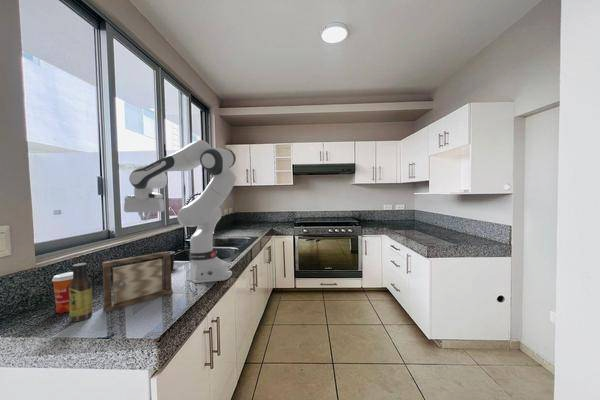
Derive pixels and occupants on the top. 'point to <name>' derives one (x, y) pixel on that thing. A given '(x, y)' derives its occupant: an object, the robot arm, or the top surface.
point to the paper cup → (62, 291)
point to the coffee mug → (170, 259)
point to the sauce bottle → (80, 294)
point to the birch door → (138, 280)
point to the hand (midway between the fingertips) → (144, 220)
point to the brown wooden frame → (113, 306)
